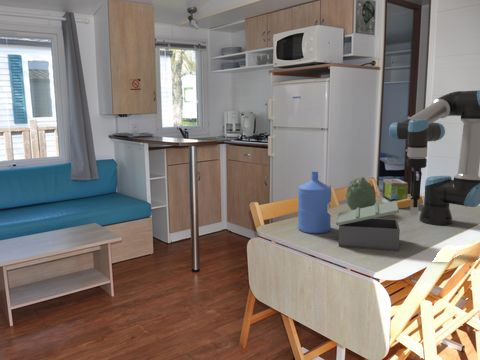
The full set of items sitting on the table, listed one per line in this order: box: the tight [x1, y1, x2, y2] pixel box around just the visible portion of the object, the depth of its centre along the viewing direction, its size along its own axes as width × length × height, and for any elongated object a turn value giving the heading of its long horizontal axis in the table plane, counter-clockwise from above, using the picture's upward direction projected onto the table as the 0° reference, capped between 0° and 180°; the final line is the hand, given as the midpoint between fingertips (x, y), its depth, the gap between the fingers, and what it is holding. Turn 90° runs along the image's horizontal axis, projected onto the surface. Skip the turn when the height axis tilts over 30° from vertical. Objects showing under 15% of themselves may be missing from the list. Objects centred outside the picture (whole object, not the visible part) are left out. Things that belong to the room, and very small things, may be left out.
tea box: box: [381, 178, 409, 209], centre depth 251 cm, size 15×10×15 cm, turn 179°
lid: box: [335, 195, 424, 226], centre depth 182 cm, size 36×17×3 cm, turn 73°
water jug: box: [297, 171, 332, 234], centre depth 204 cm, size 16×16×28 cm
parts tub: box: [338, 217, 401, 252], centre depth 185 cm, size 24×16×9 cm, turn 74°
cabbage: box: [345, 176, 377, 211], centre depth 234 cm, size 16×19×20 cm
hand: (414, 213), depth 178 cm, fingers closed on lid, 3 cm apart
